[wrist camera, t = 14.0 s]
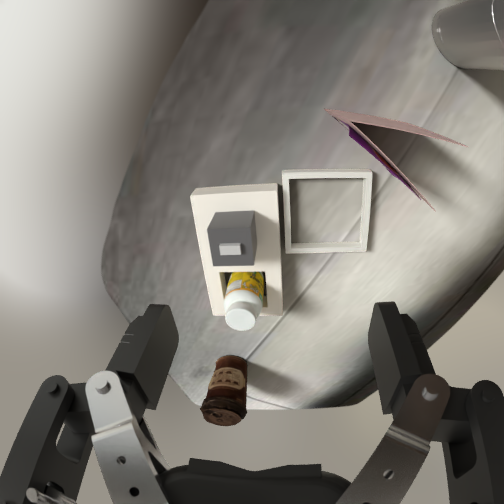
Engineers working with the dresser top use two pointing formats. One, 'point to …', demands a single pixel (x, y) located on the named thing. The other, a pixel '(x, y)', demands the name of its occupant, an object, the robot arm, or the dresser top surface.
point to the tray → (328, 246)
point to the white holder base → (239, 239)
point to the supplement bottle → (244, 299)
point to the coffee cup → (226, 392)
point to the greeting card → (373, 149)
